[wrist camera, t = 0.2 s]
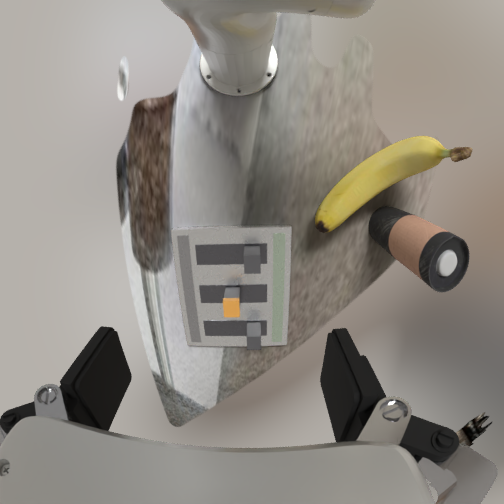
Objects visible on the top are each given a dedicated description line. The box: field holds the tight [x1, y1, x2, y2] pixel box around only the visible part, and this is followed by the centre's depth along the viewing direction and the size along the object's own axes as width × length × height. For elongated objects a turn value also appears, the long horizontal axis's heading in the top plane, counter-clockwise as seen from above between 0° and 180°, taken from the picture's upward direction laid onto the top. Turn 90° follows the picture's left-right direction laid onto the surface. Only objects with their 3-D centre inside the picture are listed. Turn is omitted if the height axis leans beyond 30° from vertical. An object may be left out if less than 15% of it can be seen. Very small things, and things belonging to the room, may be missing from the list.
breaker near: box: [244, 246, 261, 274], centre depth 44 cm, size 3×2×4 cm
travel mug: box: [369, 206, 469, 292], centre depth 37 cm, size 8×8×20 cm
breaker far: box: [247, 322, 261, 350], centre depth 49 cm, size 3×2×4 cm
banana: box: [315, 136, 472, 233], centre depth 34 cm, size 23×6×20 cm, turn 131°
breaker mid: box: [223, 287, 241, 317], centre depth 46 cm, size 3×3×5 cm
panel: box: [171, 225, 291, 346], centre depth 50 cm, size 24×20×2 cm
